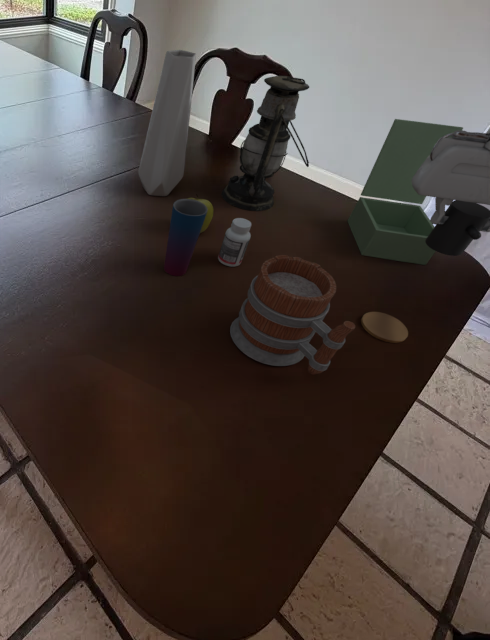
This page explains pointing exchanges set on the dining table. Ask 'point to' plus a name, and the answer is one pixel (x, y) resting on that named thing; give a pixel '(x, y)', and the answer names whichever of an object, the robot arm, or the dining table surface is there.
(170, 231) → the cup
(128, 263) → the dining table surface
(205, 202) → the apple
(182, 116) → the vase
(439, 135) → the lid
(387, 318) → the coaster
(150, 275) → the dining table surface
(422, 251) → the chest
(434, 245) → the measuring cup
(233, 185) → the lantern
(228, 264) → the pill bottle
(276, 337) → the mug
